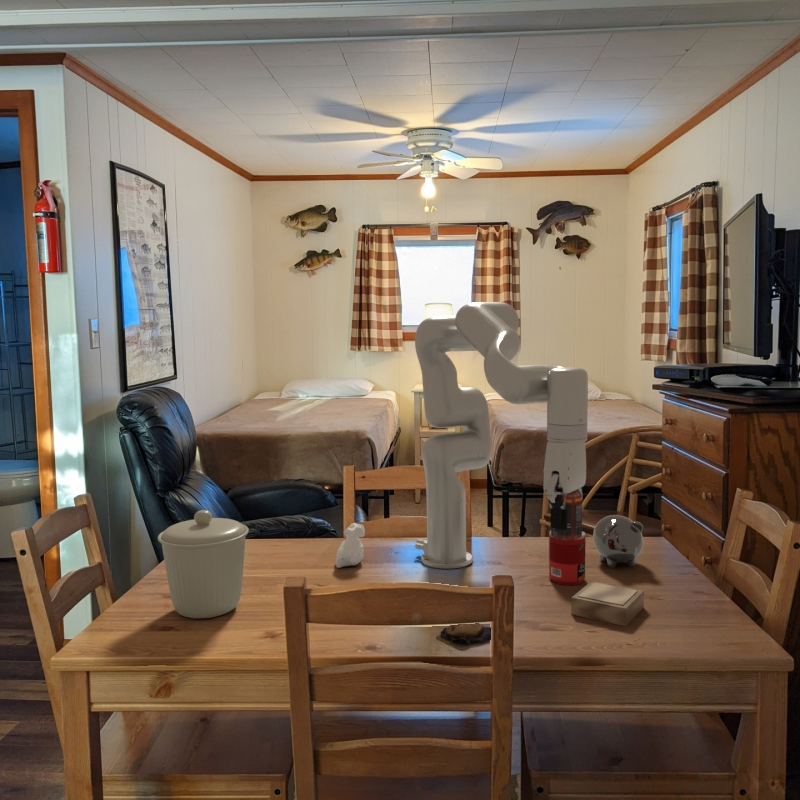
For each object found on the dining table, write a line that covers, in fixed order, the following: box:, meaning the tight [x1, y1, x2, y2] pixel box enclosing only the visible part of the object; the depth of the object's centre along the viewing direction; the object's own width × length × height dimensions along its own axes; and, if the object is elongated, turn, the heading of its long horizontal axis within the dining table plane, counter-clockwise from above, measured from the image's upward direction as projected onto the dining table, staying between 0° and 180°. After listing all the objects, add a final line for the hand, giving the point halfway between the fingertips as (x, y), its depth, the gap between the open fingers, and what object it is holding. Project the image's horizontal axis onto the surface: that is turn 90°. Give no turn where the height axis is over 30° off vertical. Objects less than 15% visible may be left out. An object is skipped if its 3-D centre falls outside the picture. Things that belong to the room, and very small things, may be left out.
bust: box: [335, 522, 366, 569], centre depth 182 cm, size 12×8×11 cm
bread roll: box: [435, 622, 492, 651], centre depth 139 cm, size 11×8×4 cm
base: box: [570, 580, 645, 627], centre depth 150 cm, size 11×11×4 cm
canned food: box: [548, 530, 586, 586], centre depth 168 cm, size 8×8×11 cm
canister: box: [157, 509, 250, 619], centre depth 154 cm, size 18×18×21 cm
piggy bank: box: [592, 514, 644, 568], centre depth 179 cm, size 11×15×12 cm
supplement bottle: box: [550, 489, 583, 540], centre depth 144 cm, size 6×6×11 cm
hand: (566, 523), depth 144 cm, fingers closed on supplement bottle, 6 cm apart
